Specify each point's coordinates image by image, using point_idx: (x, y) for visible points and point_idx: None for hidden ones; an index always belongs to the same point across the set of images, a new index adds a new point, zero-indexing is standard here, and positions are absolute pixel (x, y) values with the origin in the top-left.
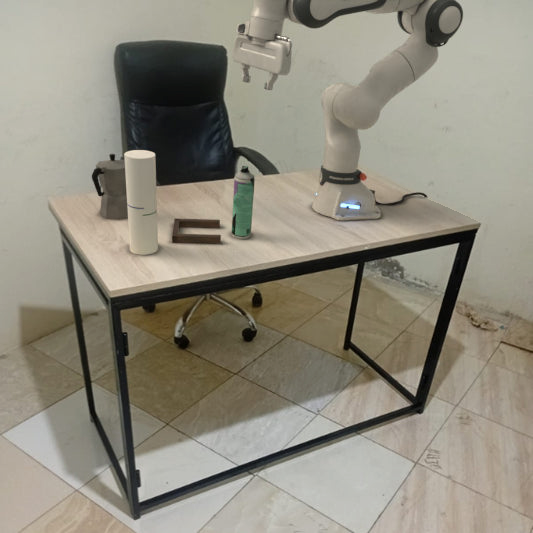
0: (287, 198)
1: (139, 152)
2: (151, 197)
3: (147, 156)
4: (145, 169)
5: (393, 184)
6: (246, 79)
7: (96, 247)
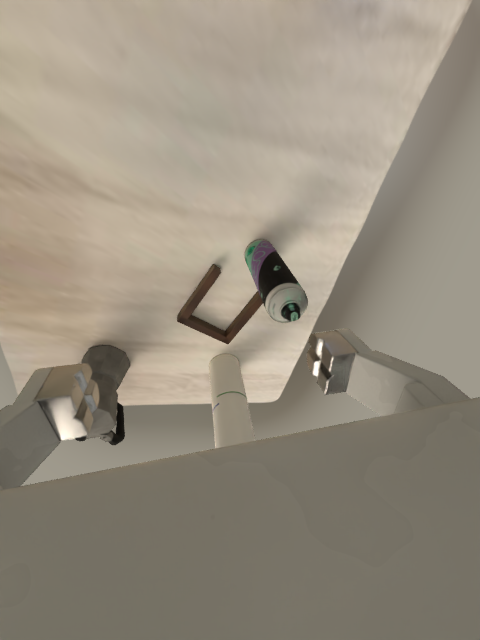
0: None
1: None
2: (250, 417)
3: None
4: None
5: None
6: (87, 403)
7: (196, 395)
